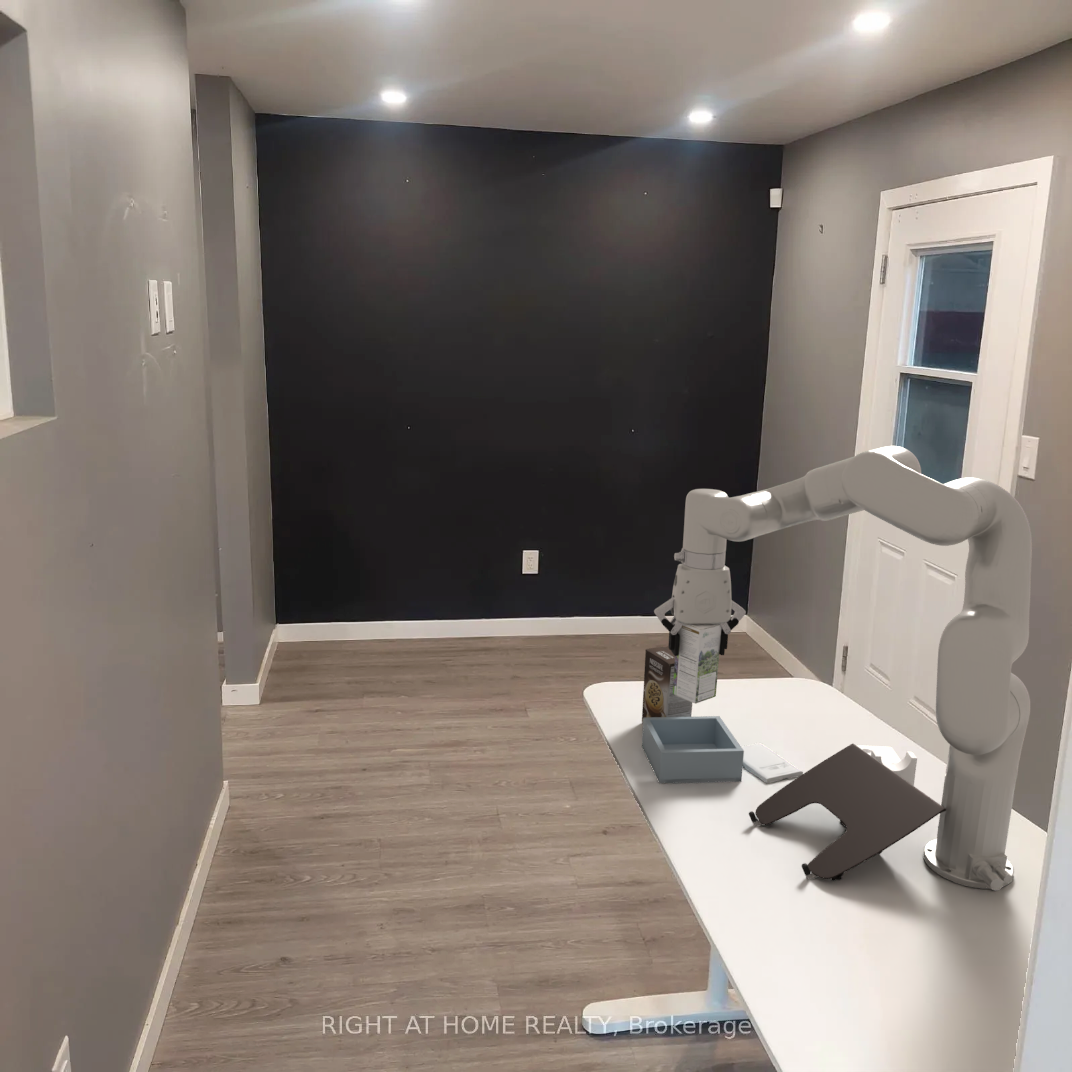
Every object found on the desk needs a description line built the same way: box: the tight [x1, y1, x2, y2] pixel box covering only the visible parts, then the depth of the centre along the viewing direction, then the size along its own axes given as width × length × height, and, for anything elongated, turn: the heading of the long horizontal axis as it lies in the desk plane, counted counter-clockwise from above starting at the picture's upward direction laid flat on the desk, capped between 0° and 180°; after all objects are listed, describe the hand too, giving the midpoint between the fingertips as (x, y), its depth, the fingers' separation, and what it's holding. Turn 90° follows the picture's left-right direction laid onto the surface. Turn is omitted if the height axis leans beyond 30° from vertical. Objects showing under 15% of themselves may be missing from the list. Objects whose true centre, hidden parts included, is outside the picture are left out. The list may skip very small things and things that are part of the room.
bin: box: [641, 715, 744, 784], centre depth 176 cm, size 15×15×6 cm
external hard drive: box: [740, 742, 804, 784], centre depth 177 cm, size 2×8×12 cm
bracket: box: [855, 744, 918, 787], centre depth 172 cm, size 13×7×8 cm, turn 177°
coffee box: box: [641, 646, 693, 724], centre depth 189 cm, size 9×6×16 cm
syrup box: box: [673, 624, 721, 704], centre depth 172 cm, size 6×6×14 cm
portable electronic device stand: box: [748, 743, 946, 881], centre depth 151 cm, size 23×23×9 cm
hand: (697, 652), depth 171 cm, fingers closed on syrup box, 7 cm apart
